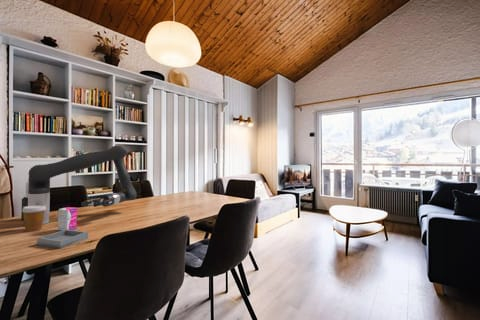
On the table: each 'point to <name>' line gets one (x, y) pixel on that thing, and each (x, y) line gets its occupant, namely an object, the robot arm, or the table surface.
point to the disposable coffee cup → (33, 217)
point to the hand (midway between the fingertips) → (87, 204)
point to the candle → (25, 200)
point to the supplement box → (67, 219)
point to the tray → (62, 238)
